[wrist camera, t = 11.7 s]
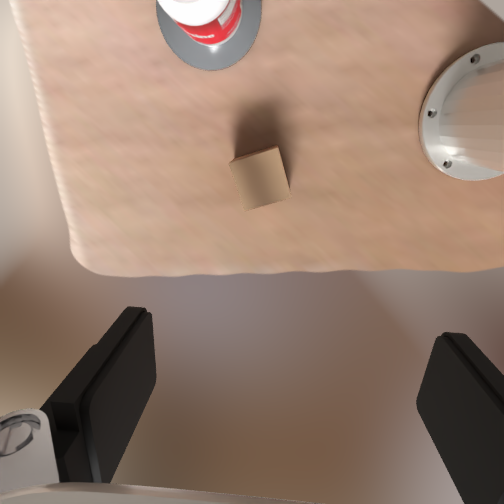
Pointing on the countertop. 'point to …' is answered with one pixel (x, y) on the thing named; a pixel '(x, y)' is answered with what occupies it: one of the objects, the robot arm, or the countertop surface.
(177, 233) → the countertop surface
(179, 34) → the coaster
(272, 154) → the light brown wooden block
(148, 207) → the countertop surface
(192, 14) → the pill bottle
